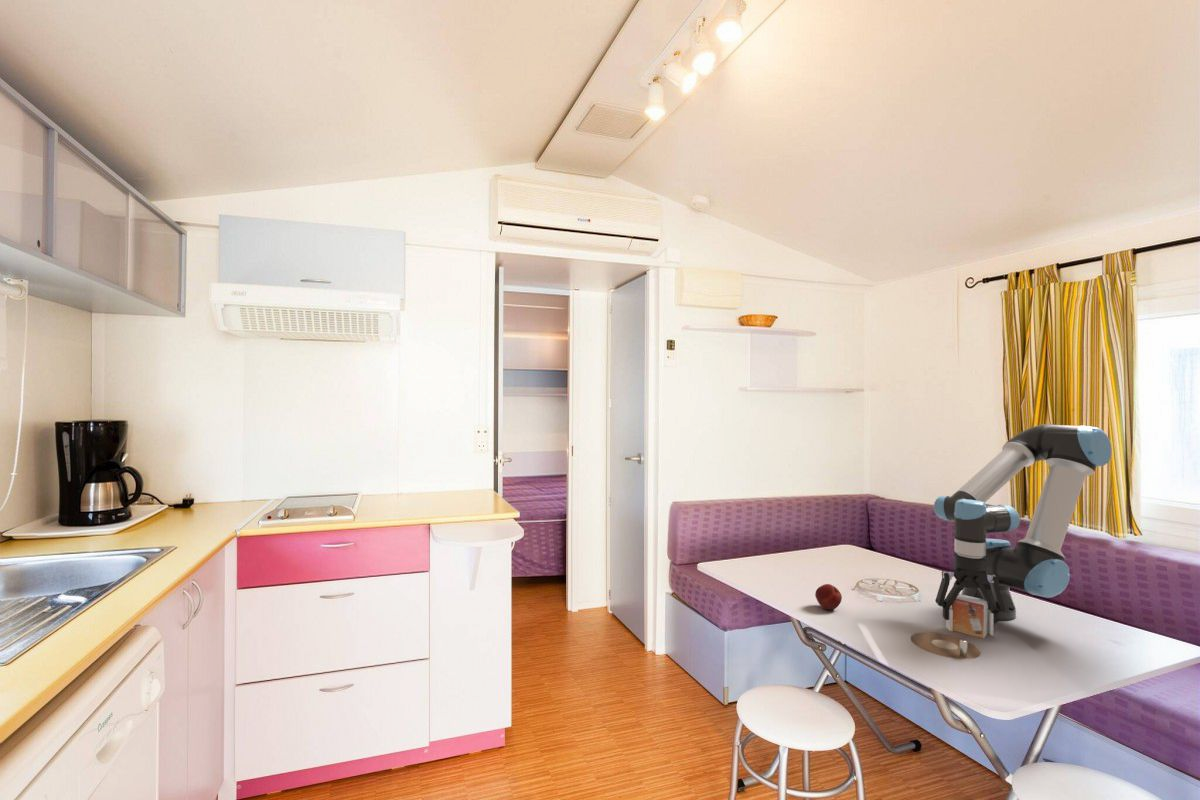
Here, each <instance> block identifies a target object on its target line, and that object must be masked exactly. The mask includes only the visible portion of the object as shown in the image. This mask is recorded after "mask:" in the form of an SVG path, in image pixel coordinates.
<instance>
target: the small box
mask: <svg viewBox="0 0 1200 800" xmlns="http://www.w3.org/2000/svg"><path fill="white" fill-rule="evenodd" d="M951 609H952V610H953V631H954V632H958V633H963V634H966V635H969V636H973V637H976V638H981V639H985V638H986V636H987V635H988V603H987V601H986V600H985V599H980V598H975V597H970V596H966V595H961V593H959V595H958V596H957V598H956V599H955V601H954V602H953V604H952V605H951Z"/></svg>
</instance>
